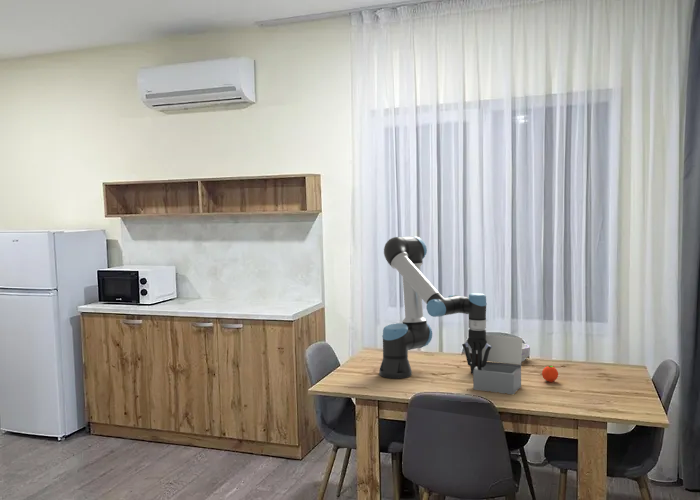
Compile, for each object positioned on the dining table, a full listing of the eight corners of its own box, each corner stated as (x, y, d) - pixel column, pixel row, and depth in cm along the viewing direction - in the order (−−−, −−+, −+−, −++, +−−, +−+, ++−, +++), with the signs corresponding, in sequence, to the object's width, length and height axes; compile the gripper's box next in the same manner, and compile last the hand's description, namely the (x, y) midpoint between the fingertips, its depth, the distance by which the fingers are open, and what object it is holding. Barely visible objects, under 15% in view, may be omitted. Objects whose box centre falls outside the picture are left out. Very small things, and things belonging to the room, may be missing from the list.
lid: (483, 334, 277) (484, 334, 279) (481, 360, 276) (482, 360, 278) (521, 338, 269) (522, 337, 271) (520, 364, 268) (521, 364, 270)
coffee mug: (487, 375, 289) (487, 354, 288) (468, 374, 291) (468, 353, 290) (486, 369, 300) (486, 348, 300) (468, 368, 302) (468, 348, 301)
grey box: (473, 389, 266) (473, 367, 265) (482, 381, 278) (482, 360, 277) (513, 394, 258) (513, 371, 257) (521, 386, 270) (521, 364, 269)
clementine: (547, 378, 283) (547, 362, 282) (562, 380, 278) (562, 365, 278) (539, 381, 277) (539, 366, 277) (553, 384, 272) (553, 368, 272)
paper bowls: (533, 363, 310) (533, 348, 310) (503, 363, 310) (503, 348, 310) (525, 356, 325) (525, 341, 325) (496, 356, 326) (496, 341, 325)
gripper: (460, 329, 271) (459, 382, 272) (489, 331, 264) (488, 386, 266) (465, 326, 277) (464, 378, 279) (494, 328, 271) (493, 381, 273)
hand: (476, 381), depth 272 cm, fingers closed
